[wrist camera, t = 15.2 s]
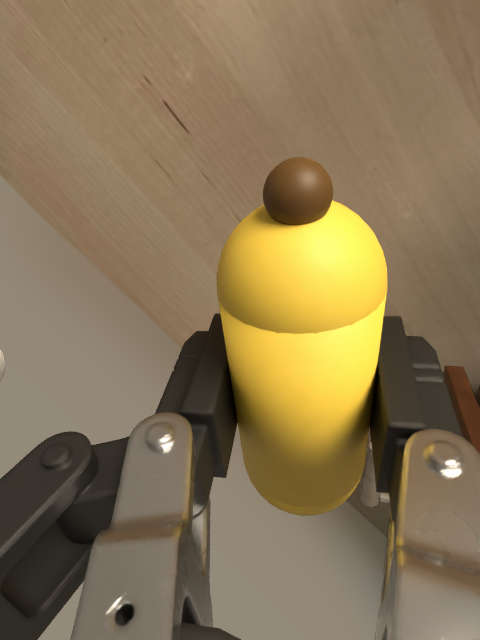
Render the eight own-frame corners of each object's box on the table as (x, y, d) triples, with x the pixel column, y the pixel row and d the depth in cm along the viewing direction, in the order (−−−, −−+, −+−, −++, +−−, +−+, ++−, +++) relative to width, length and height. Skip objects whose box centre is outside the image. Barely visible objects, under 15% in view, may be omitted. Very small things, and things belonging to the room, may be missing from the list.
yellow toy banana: (356, 441, 14) (365, 546, 11) (254, 435, 14) (241, 533, 12) (389, 124, 8) (425, 184, 5) (217, 137, 9) (173, 197, 6)
